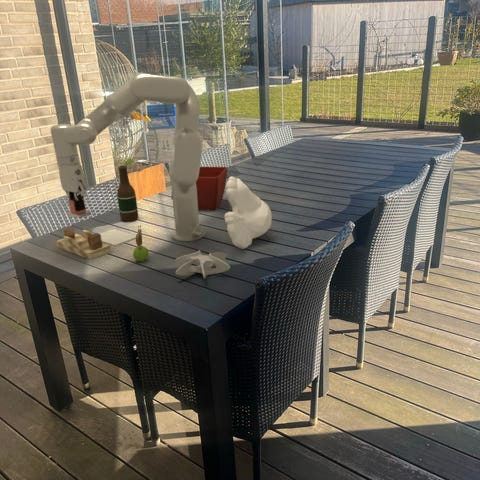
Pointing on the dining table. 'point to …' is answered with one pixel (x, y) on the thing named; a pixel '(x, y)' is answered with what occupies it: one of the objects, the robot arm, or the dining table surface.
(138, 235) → the snail figurine
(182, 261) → the sculpture
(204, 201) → the plant pot
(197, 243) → the dining table surface
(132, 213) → the beer bottle
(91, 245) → the body
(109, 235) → the mat
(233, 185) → the white bear figurine
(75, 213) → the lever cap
